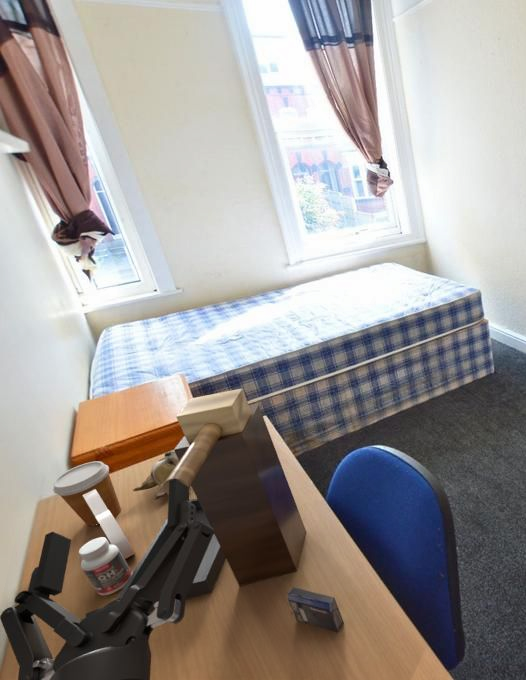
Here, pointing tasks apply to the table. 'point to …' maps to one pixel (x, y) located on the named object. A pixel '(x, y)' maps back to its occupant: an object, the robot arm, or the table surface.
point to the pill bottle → (104, 566)
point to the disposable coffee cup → (87, 489)
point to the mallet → (208, 429)
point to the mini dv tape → (315, 609)
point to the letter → (108, 523)
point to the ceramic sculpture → (160, 474)
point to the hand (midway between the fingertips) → (120, 509)
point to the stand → (249, 503)
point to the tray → (206, 571)
